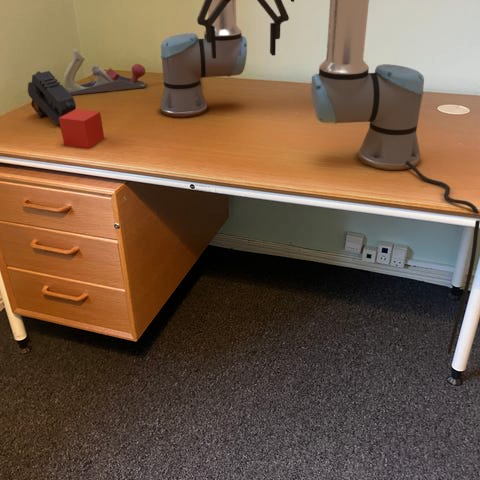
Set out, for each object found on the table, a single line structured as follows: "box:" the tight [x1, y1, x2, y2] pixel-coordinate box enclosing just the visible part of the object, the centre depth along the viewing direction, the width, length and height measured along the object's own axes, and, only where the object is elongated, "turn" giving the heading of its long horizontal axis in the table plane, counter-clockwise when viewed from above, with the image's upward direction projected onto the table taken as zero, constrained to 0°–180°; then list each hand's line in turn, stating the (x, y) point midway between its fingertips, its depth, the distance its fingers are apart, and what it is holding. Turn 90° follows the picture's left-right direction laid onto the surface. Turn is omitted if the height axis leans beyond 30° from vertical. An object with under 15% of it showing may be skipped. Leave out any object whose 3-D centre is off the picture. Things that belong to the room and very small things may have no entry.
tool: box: [27, 70, 77, 126], centre depth 167 cm, size 6×19×15 cm, turn 51°
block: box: [59, 108, 105, 149], centre depth 151 cm, size 8×8×8 cm
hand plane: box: [62, 48, 146, 96], centre depth 194 cm, size 7×31×15 cm, turn 107°
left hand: (243, 55), depth 122 cm, fingers open, 13 cm apart
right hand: (314, 0), depth 163 cm, fingers open, 13 cm apart
